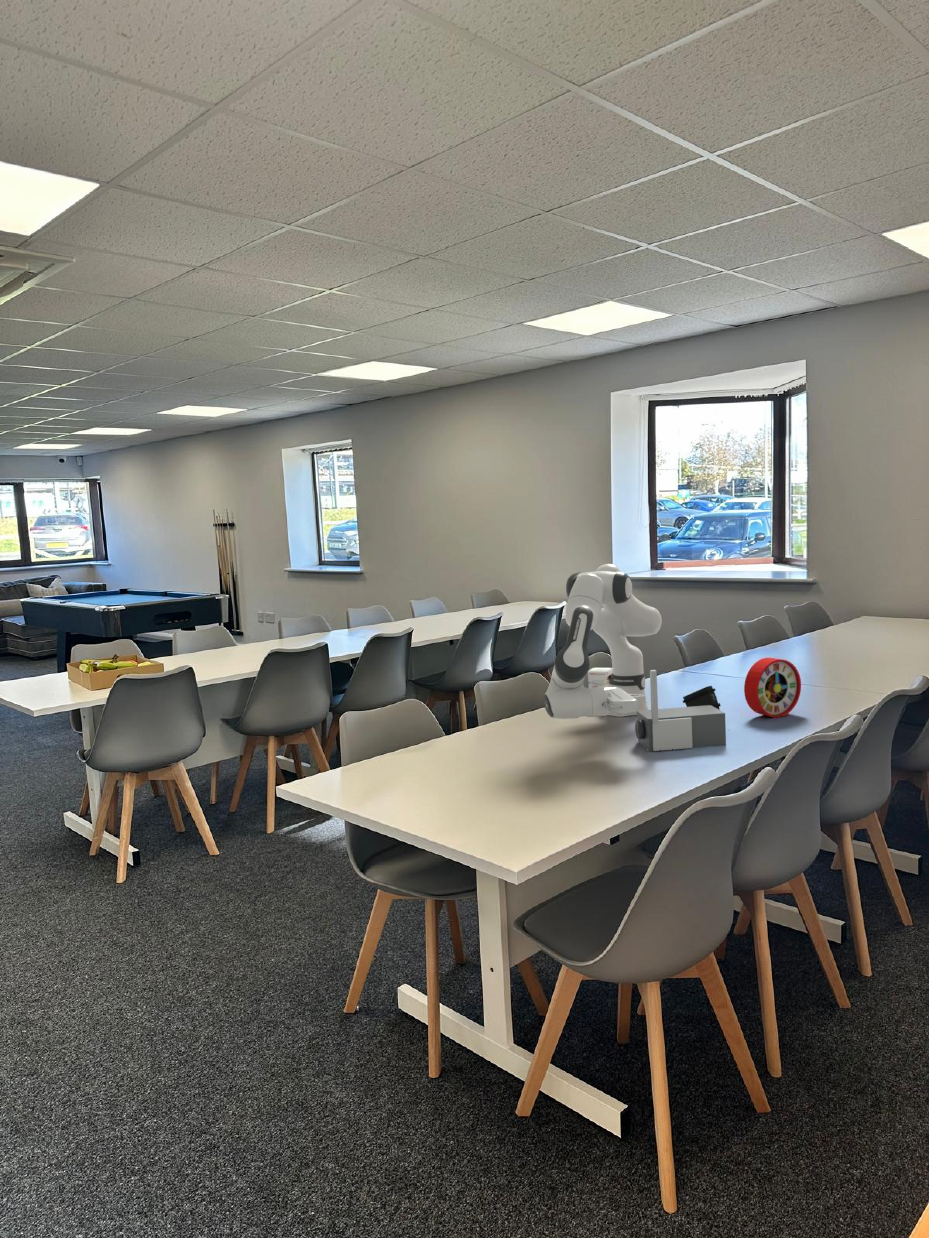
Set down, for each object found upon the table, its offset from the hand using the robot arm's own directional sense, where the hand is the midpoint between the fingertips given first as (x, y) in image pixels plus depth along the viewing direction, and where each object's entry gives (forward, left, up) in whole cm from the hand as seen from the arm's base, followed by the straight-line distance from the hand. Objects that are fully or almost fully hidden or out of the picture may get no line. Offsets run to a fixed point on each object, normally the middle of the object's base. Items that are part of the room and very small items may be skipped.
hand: (644, 697), depth 255 cm
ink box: (-46, +70, -17) cm, 86 cm away
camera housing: (+6, +14, -17) cm, 23 cm away
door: (+7, +5, -16) cm, 18 cm away
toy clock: (+23, +59, -17) cm, 66 cm away
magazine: (+7, +32, -17) cm, 37 cm away
